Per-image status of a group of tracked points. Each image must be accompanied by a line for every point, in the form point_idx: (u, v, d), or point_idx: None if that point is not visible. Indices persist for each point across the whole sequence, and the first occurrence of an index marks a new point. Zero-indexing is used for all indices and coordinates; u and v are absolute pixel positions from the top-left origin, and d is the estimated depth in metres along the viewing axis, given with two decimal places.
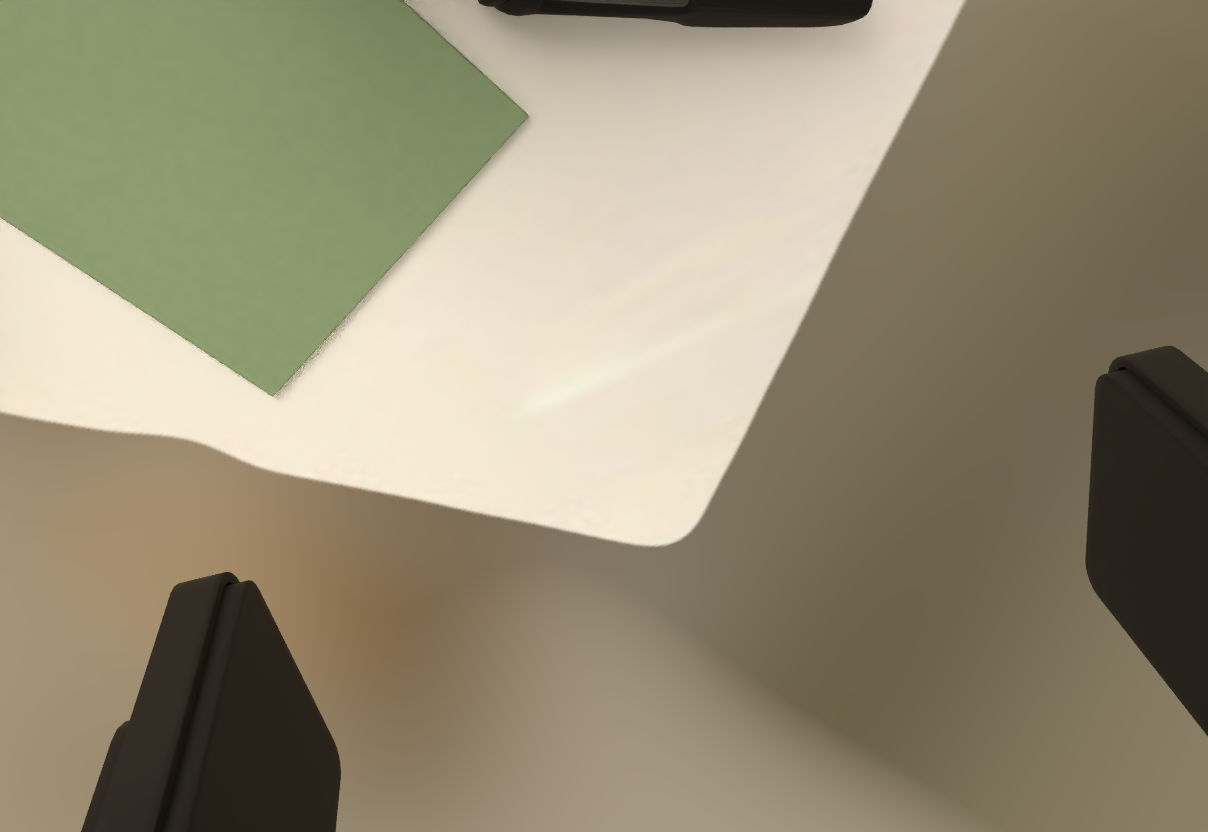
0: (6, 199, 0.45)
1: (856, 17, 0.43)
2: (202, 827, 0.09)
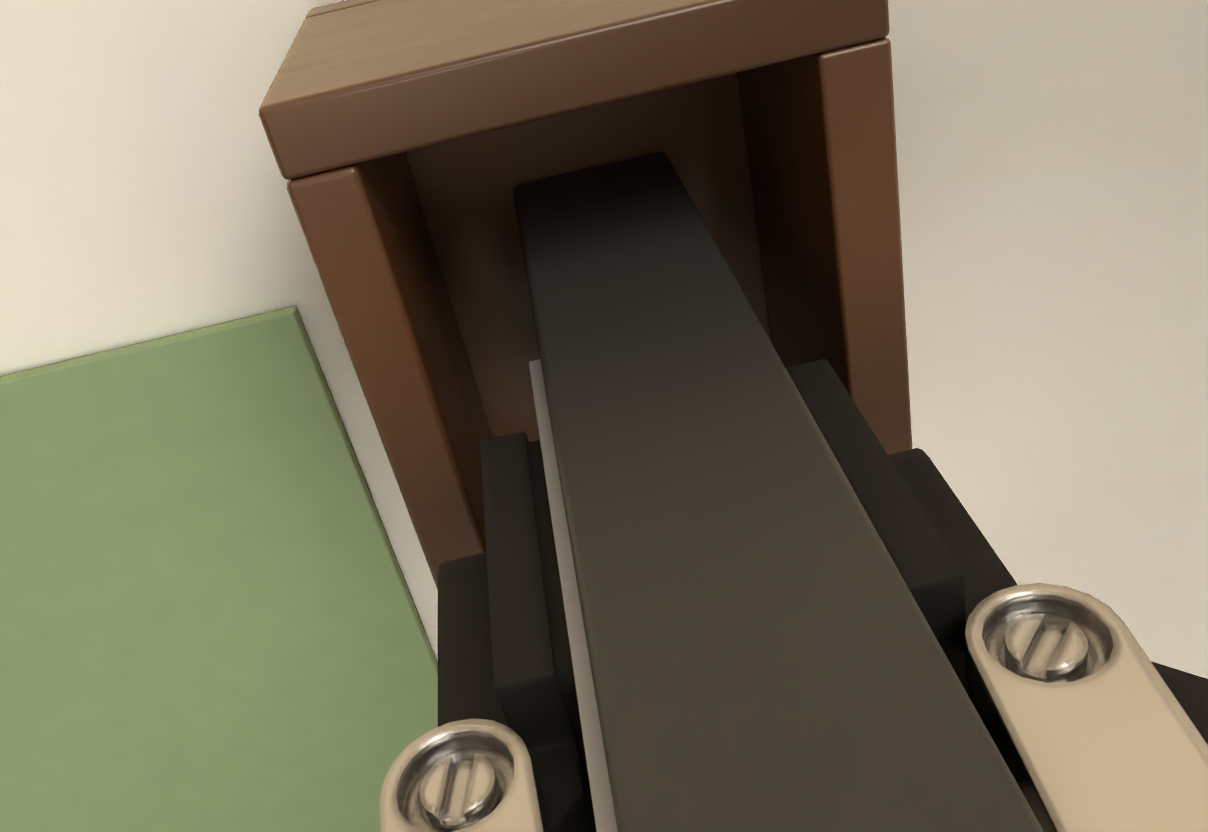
0: None
1: None
2: None
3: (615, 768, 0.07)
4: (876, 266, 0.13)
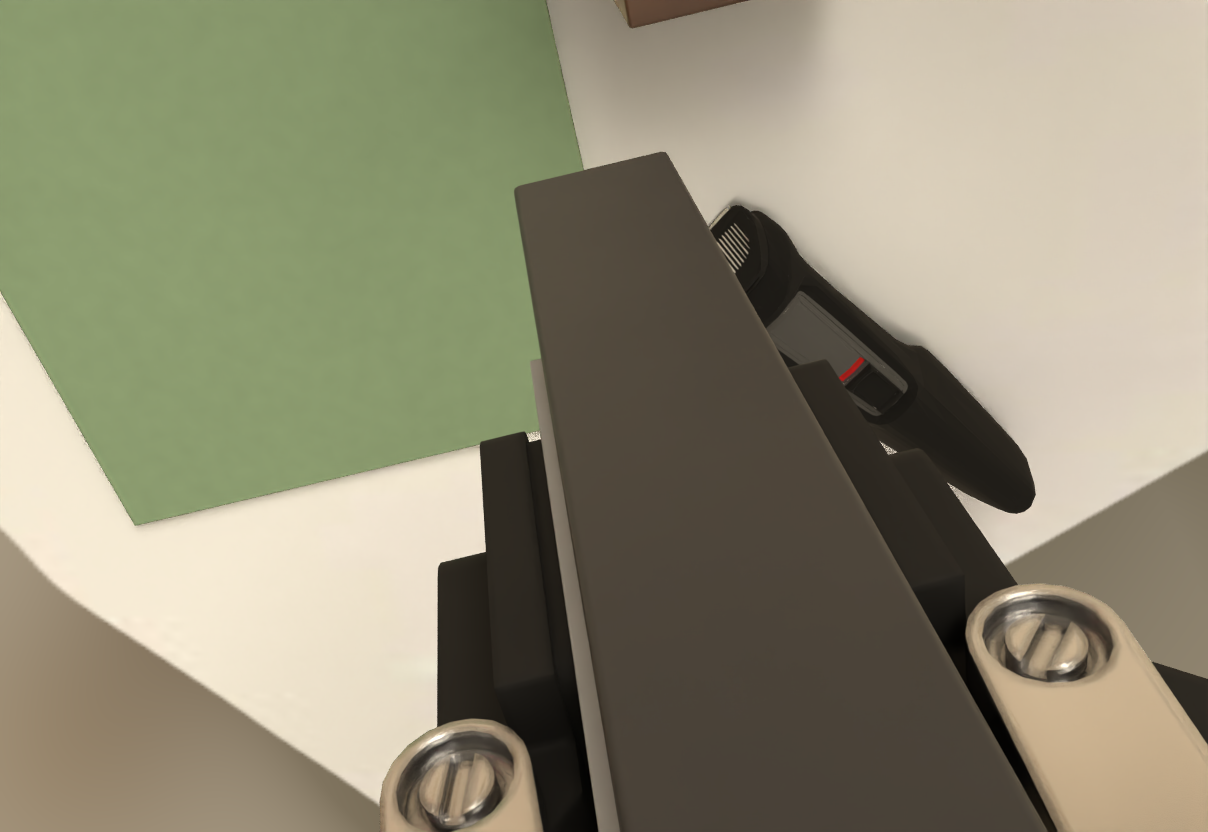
0: None
1: (1005, 510, 0.39)
2: None
3: (617, 768, 0.07)
4: None
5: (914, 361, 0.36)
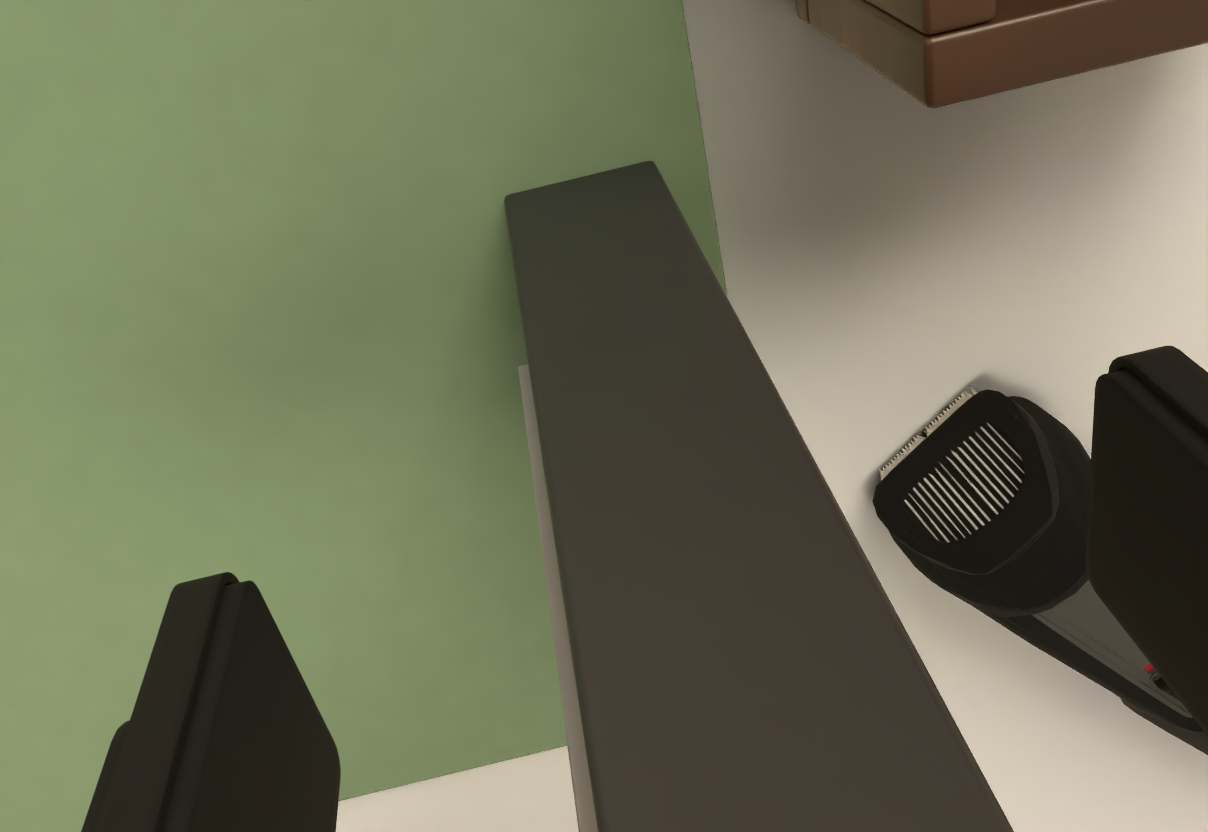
0: None
1: None
2: (204, 828, 0.09)
3: (594, 757, 0.07)
4: None
5: None
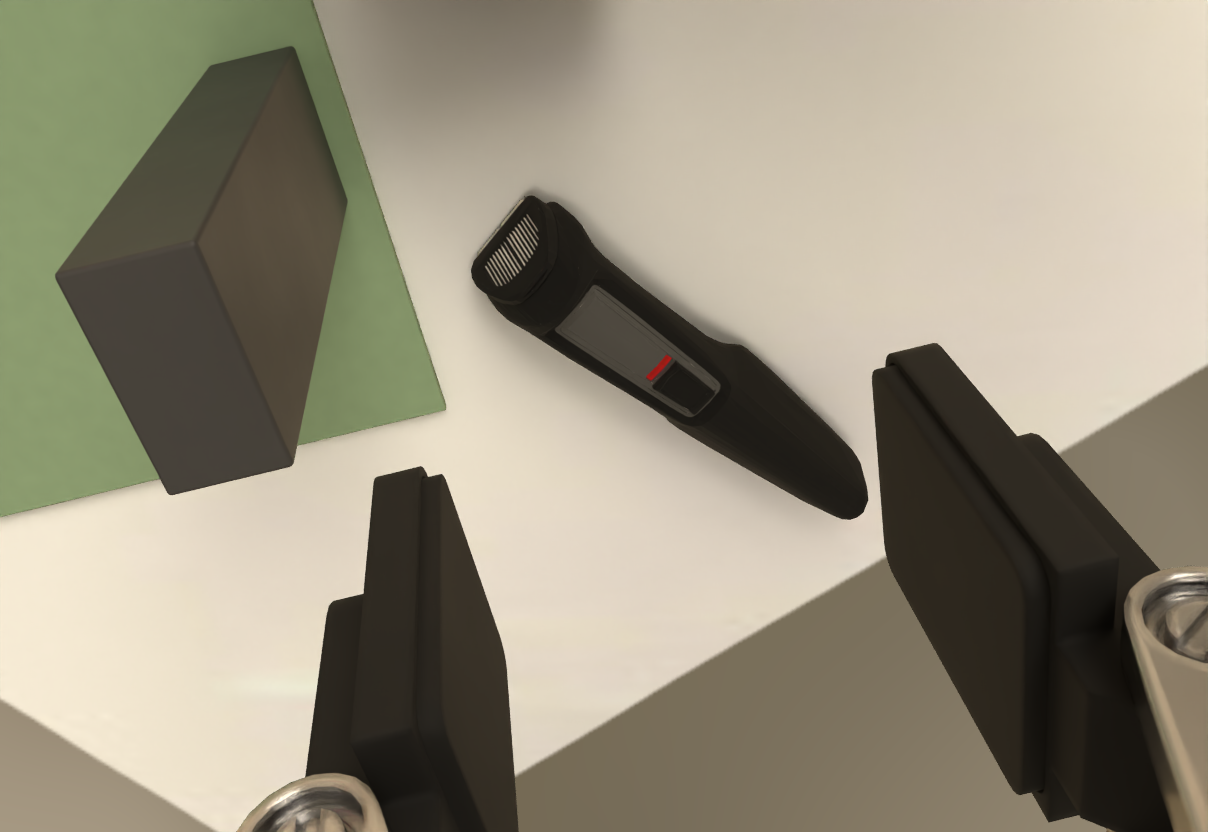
0: None
1: (838, 516, 0.37)
2: (448, 671, 0.10)
3: (102, 210, 0.20)
4: None
5: (728, 360, 0.34)
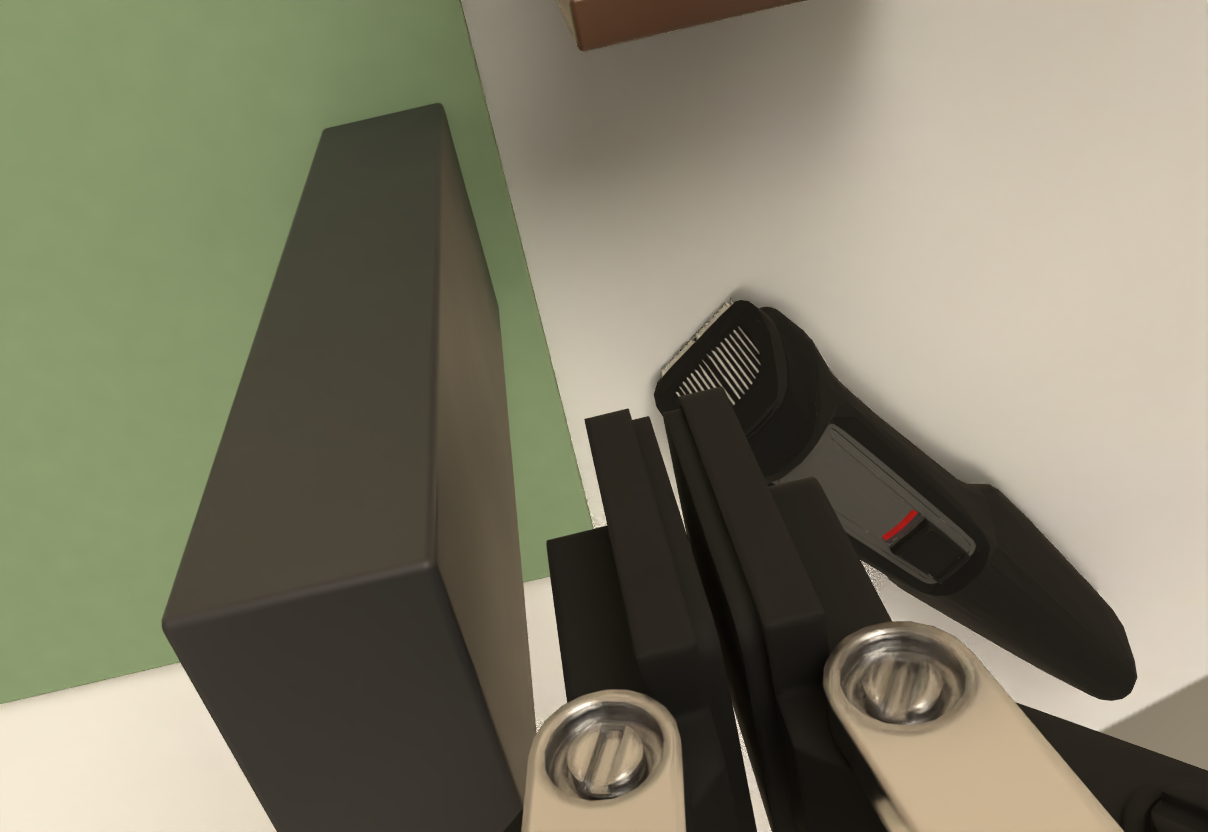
0: None
1: (1096, 697, 0.29)
2: (703, 597, 0.10)
3: (223, 437, 0.12)
4: None
5: (984, 510, 0.26)
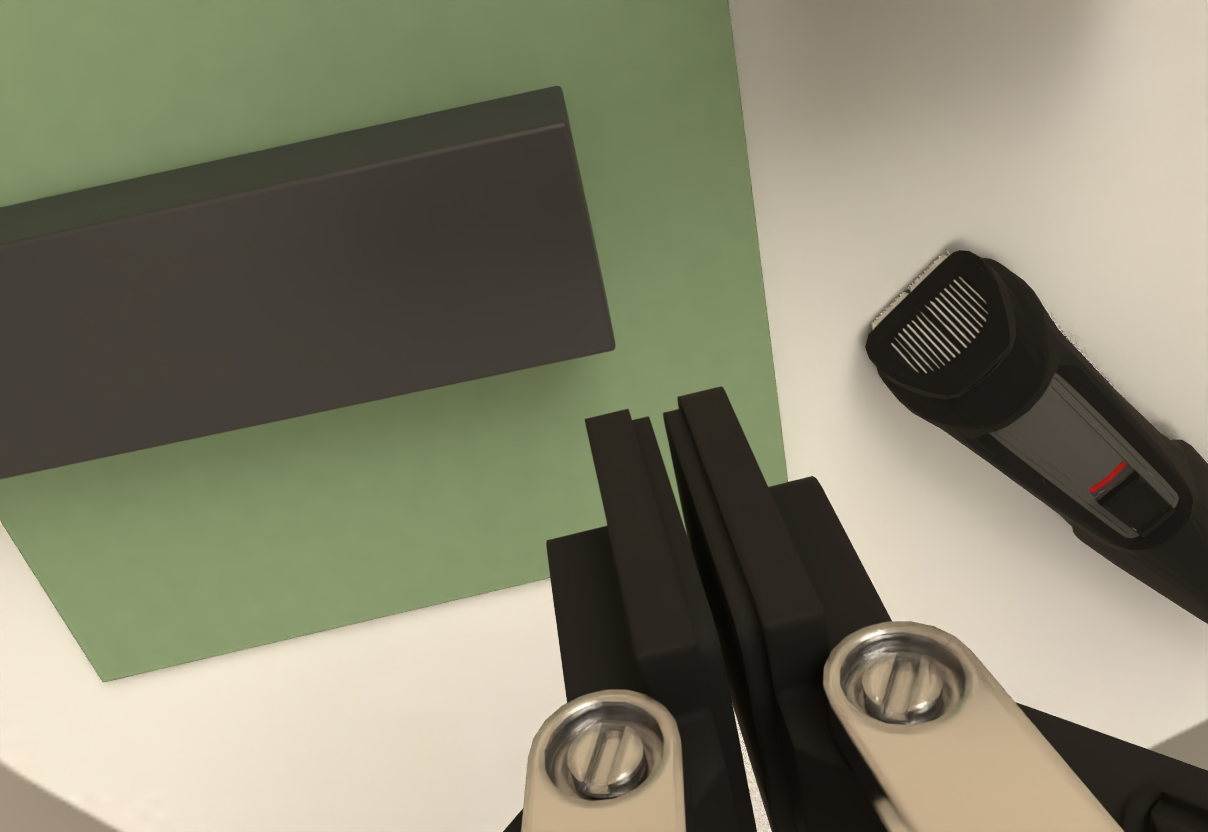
0: None
1: None
2: (704, 597, 0.10)
3: None
4: None
5: (1185, 464, 0.26)
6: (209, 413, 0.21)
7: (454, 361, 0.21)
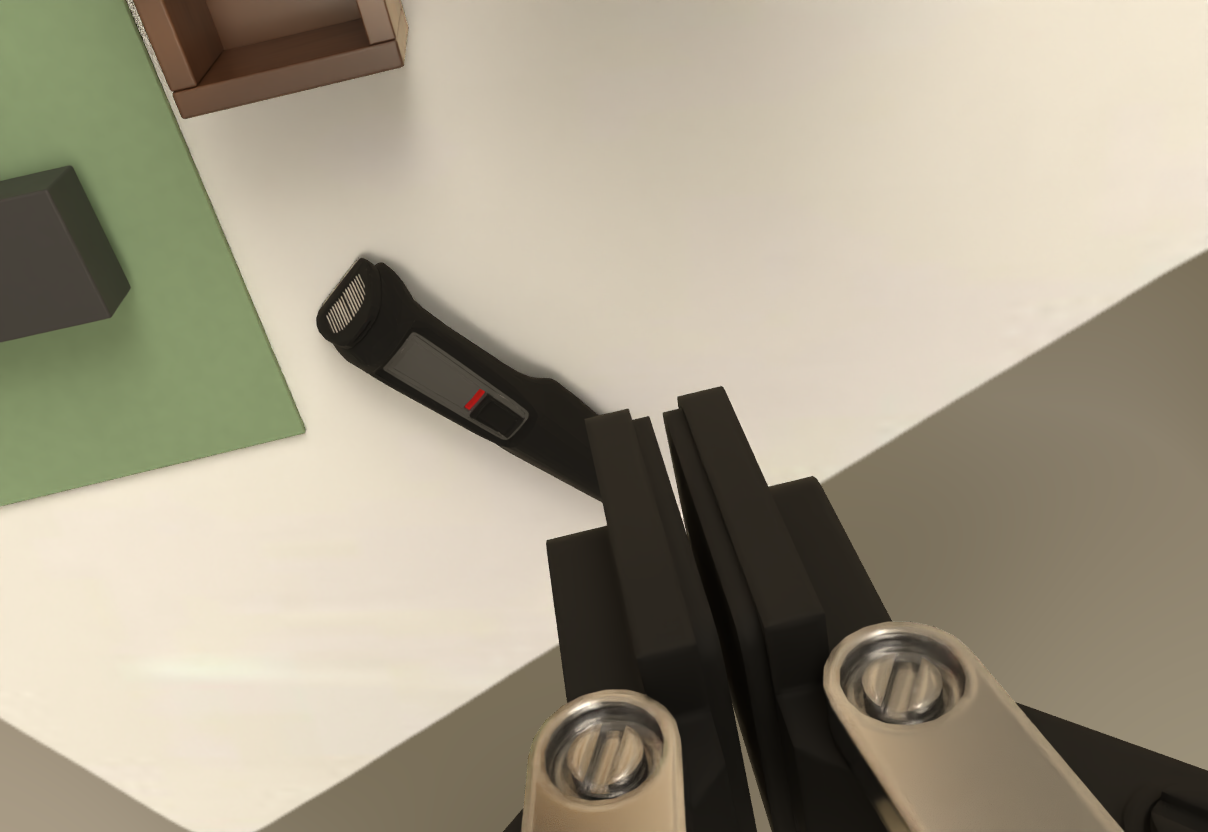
0: None
1: None
2: (703, 597, 0.10)
3: None
4: None
5: (536, 392, 0.41)
6: None
7: (15, 324, 0.36)
